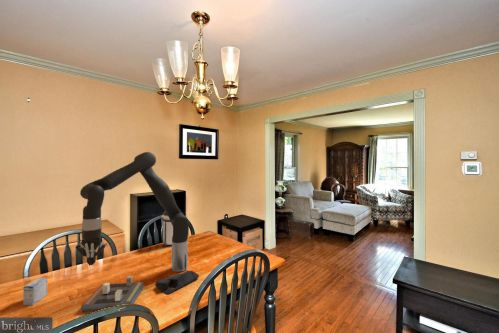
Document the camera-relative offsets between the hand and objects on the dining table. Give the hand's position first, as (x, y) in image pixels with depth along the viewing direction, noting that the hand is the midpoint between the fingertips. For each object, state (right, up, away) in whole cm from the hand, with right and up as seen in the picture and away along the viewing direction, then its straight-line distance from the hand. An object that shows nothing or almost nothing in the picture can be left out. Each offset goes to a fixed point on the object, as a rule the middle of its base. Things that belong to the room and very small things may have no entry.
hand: (91, 264), depth 106 cm
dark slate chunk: (+35, -18, +18) cm, 43 cm away
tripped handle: (+6, -14, +1) cm, 15 cm away
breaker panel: (+10, -17, +2) cm, 20 cm away
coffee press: (+12, -17, +76) cm, 79 cm away
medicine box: (-26, -17, 0) cm, 31 cm away
